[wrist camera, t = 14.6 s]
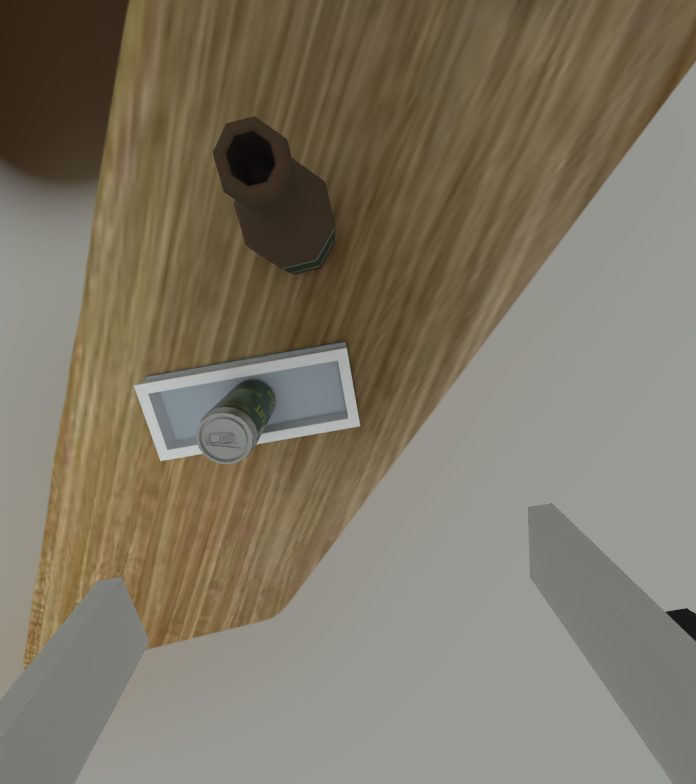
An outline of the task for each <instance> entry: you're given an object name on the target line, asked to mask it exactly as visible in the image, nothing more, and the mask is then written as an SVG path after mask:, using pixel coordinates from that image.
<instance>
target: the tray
mask: <svg viewBox="0 0 696 784" xmlns="http://www.w3.org/2000/svg"><path fill="white" fill-rule="evenodd" d="M246 380H257V381H260V382H262V383H264V384H266V385H267V386H268V387H269V388H270V389H271V390H272V392H273V394H274V396H275V401H276V402H275V409H274V411H273V413H272V415H271V417H270V419H269V421H268V423H267V425H266V427H265V428H264V430H263V432H262V434H261V436H260V438H259V440H258V442H257V444H261V443H267V442H272V441H278V440H284V439H290V438H295V437H301V436H307V435H313V434H318V433H324V432H330V431H336V430H341V429H347V428H353V427H359V426H360V422H359V417H358V411H357V405H356V399H355V393H354V388H353V382H352V376H351V370H350V364H349V359H348V353H347V347H346V342H345V341H343V342H337V343H332V344H326V345H320V346H315V347H309V348H303V349H298V350H292V351H286V352H281V353H275V354H269V355H264V356H258V357H252V358H247V359H241V360H235V361H230V362H224V363H218V364H213V365H207V366H201V367H196V368H190V369H184V370H179V371H173V372H167V373H162V374H156V375H150V376H147V377H145V381H142V382H140V383H138V384H136V385H134V387H135V390H136V393H137V395H138V398H139V401H140V404H141V407H142V410H143V413H144V415H145V418H146V421H147V424H148V427H149V430H150V432H151V435H152V438H153V441H154V444H155V447H156V449H157V452H158V455H159V458H160V461H163V460H169V459H175V458H181V457H186V456H192V455H198V454H203V453H202V452H201V450H200V449H199V448H198V444H197V441H196V432H197V429H198V426H199V424H200V421H201V419H202V418H203V417H204V416H205V415H206V414H207V412H209V411H210V410H211V409H212V408H213V407H214V406H215V405H216V404H217V403H218V402H219V401H220V400H221V399H222V398H224V397H225V396H226V395H227V394H228V393H229V392H230V391H231V390H232V389H233V388H234V387H235V386H236V385H237V384H239V383H241V382H243V381H246Z"/></svg>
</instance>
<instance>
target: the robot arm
mask: <svg viewBox="0 0 696 784" xmlns="http://www.w3.org/2000/svg"><path fill="white" fill-rule="evenodd" d="M528 524H529V554H530V578H531V579H532V581H533V582H534V583H535V585H536V586H537V588H538V589H539V591H540V592H541V594H542V595H543V597H544V598H545V599H546V601H547V602H548V604H549V605H550V607H551V608H552V609H553V611H554V612H555V614H556V615H557V617H558V618H559V619H560V621H561V623H562V624H563V625H564V627H565V628H566V630H567V631H568V633H569V634H570V636H571V637H572V638H573V640H574V641H575V643H576V644H577V646H578V647H579V649H580V650H581V651H582V653H583V654H584V656H585V657H586V659H587V660H588V662H589V663H590V664H591V666H592V667H593V669H594V670H595V672H596V673H597V675H598V676H599V677H600V679H601V680H602V682H603V683H604V685H605V686H606V688H607V689H608V691H609V692H610V693H611V695H612V696H613V698H614V699H615V701H616V702H617V704H618V705H619V706H620V708H621V709H622V711H623V712H624V714H625V715H626V716H627V718H628V719H629V721H630V722H631V724H632V725H633V727H634V728H635V730H636V731H637V732H638V734H639V735H640V737H641V738H642V740H643V741H644V743H645V744H646V745H647V747H648V748H649V750H650V751H651V753H652V754H653V756H654V757H655V758H656V760H657V761H658V763H659V764H660V766H661V767H662V769H663V770H664V771H665V773H666V774H667V776H668V777H669V779H670V780H671V781H672V783H673V784H696V614H695V613H694V612H692V611H690V610H688V609H687V608H686V609H680V610H674V611H668V612H664V611H663V610H662V609H661V608H660V607H659V606H658V605H657V604H656V603H655V602H654V601H653V600H652V599H651V598H650V597H649V596H648V595H647V594H646V593H645V592H644V591H643V590H642V589H641V588H639V587H638V586H637V585H636V584H635V583H634V582H633V581H632V580H631V579H630V578H629V577H628V576H627V575H626V574H625V573H624V572H623V571H622V570H621V569H620V568H619V567H618V566H617V565H616V564H615V563H613V562H612V561H611V560H610V559H609V558H608V557H607V556H606V555H605V554H604V553H603V552H602V551H601V550H600V549H599V548H598V547H597V546H596V545H595V544H594V543H593V542H592V541H591V540H589V538H588V537H586V536H585V535H584V534H583V533H582V532H581V531H580V530H579V529H578V528H577V527H576V526H575V525H574V524H573V523H572V522H571V521H570V520H569V519H568V518H567V517H566V516H565V515H564V514H562V513H561V511H559V510H558V509H557V508H556V507H555V506H554V505H553V504H552V503H550V504H545V505H539V506H533V507H528ZM148 643H149V640H148V637H147V635H146V633H145V630H144V628H143V626H142V623H141V621H140V619H139V617H138V614H137V612H136V610H135V607H134V605H133V603H132V600H131V598H130V596H129V593H128V591H127V589H126V586H125V584H124V582H123V579H122V577H118V578H112V579H107V580H101V581H98V582H97V583H96V584H95V585H94V586H93V588H92V589H91V590H90V591H89V593H88V594H87V595H86V596H85V597H84V599H83V600H82V601H81V602H80V604H79V605H78V606H77V607H76V608H75V610H74V611H73V612H72V613H71V614H70V616H69V617H68V618H67V619H66V621H65V622H64V623H63V624H62V625H61V627H60V628H59V629H58V630H57V632H56V633H55V634H54V635H53V636H52V638H51V639H50V640H49V641H48V643H47V644H46V645H45V646H44V647H43V649H42V650H41V651H40V652H39V653H38V655H37V656H36V657H35V658H34V660H33V661H32V662H31V663H30V664H29V666H28V667H27V668H26V669H25V671H24V672H23V673H22V674H21V676H20V677H19V678H18V679H17V680H16V682H15V683H14V684H13V685H12V686H11V688H10V689H9V690H8V691H7V693H6V694H5V695H4V696H3V698H2V699H1V700H0V784H74V783H75V781H76V779H77V777H78V775H79V774H80V772H81V770H82V768H83V766H84V764H85V762H86V760H87V758H88V757H89V755H90V753H91V751H92V749H93V747H94V745H95V743H96V742H97V740H98V738H99V736H100V734H101V732H102V730H103V728H104V726H105V725H106V723H107V721H108V718H109V717H110V715H111V713H112V711H113V709H114V708H115V706H116V704H117V702H118V700H119V698H120V696H121V694H122V692H123V691H124V689H125V686H126V685H127V683H128V681H129V679H130V677H131V676H132V674H133V671H134V670H135V668H136V666H137V664H138V662H139V660H140V659H141V657H142V655H143V653H144V651H145V649H146V647H147V645H148Z"/></svg>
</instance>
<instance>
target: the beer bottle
mask: <svg viewBox="0 0 696 784" xmlns="http://www.w3.org/2000/svg"><path fill="white" fill-rule="evenodd" d="M213 153H214V159H215V163H216V166H217V169H218V173H219V176H220V180H221V183H222V186H223V190H224V192H225V193H227V194H228V195H230V196H231V197H233V198H234V199H236V200H235V202H234V206H235V209H236V213H237V216H238V219H239V223H240V226H241V230H242V233H243V237H244V240H245V244H246V245H247V246H248V247H249V248H250V249H252V250H253V251H255V252H256V253H258V254H260V255H261V256H263V257H264V258H266V259H267V260H269V261H271V262H272V263H274V264H275V265H277V266H278V267H280V268H282V269H284V270H286V271H288V272H290V273H292V274H298V273H302V272H306V271H310V270H315V269H319V268H321V266H322V264H323V263H324V261H325V259H326V257H327V256H328V254H329V252H330V250H331V249H332V247H333V245H334V243H335V224H334V220H333V215H332V211H331V206H330V202H329V197H328V193H327V188H326V185H325V182H324V181H323V180H322V179H321V178H319V177H318V176H316V175H315V174H313V173H312V172H311V171H309V170H308V169H306V168H305V167H303V166H302V165H301V164H299V163H298V162H296V161H295V160H294V159H292V158H291V154H290V150H289V146H288V142H287V139H286V138H284V137H283V136H282V135H280V134H279V133H277V132H276V131H275V130H273V129H272V128H270V127H269V126H268V125H266V124H265V123H263V122H262V121H261V120H259V119H258V118H256V117H255V116H254V117H250V118H246V119H242V120H238V121H234V122H231V123H227V124H226V125H225V127H224V130H223V132H222V134H221V136H220V138H219V140H218V143H217V145H216V147H215V149H214V151H213Z"/></svg>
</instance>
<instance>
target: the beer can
mask: <svg viewBox="0 0 696 784" xmlns="http://www.w3.org/2000/svg"><path fill="white" fill-rule="evenodd" d="M275 402H276V401H275V396H274V394H273V392H272V390H271V389H270V388H269V387H268V386H267V385H266V384H264V383H262V382H260V381H257V380H246V381H243V382H241V383H239V384H237V385H236V386H235V387H234V388H233V389H232V390H231V391H230V392H229V393H228V394H227V395H226V396H225V397H224V398H222V399H221V400H220V401H219V402H218V403H217V404H216V405H215V406H214V407H213V408H212V409H211V410H210V411H209V412H207V414H206V415H205V416H204V417H203V418H202V419H201V421H200V424H199V426H198V429H197V432H196V441H197V444H198V448H199V449H200V450H201V452H202V453H203V455H204V456H206V457H207V458H208V459H209V460H211V461H214V462H216V463H219V464H233V463H237V462H239V461H241V460H243V459H244V458H245V457H247V456H248V455H249V454H250V453H251V452H252V451H253V450H254V448H255V446H256V444H257V442H258V440H259V438H260V436H261V434H262V432H263V430H264V428H265V427H266V425H267V423H268V421H269V419H270V417H271V415H272V413H273V411H274V409H275Z"/></svg>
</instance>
